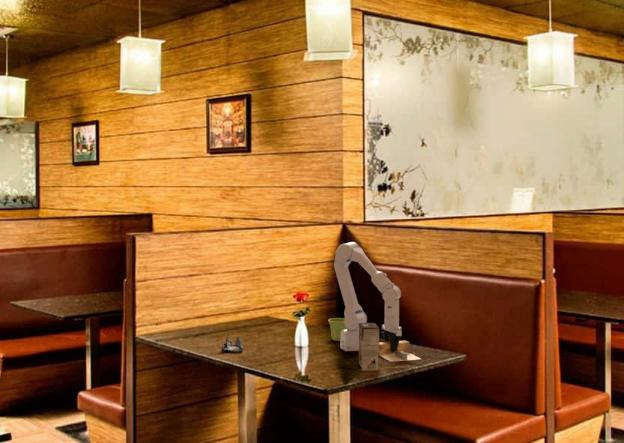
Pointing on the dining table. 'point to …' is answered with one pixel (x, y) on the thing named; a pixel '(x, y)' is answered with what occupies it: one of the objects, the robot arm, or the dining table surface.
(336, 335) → the plant pot
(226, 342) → the grey irregular piece
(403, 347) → the oak bar
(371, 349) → the coffee box
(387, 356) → the serving board
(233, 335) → the dining table surface
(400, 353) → the fulcrum strip
